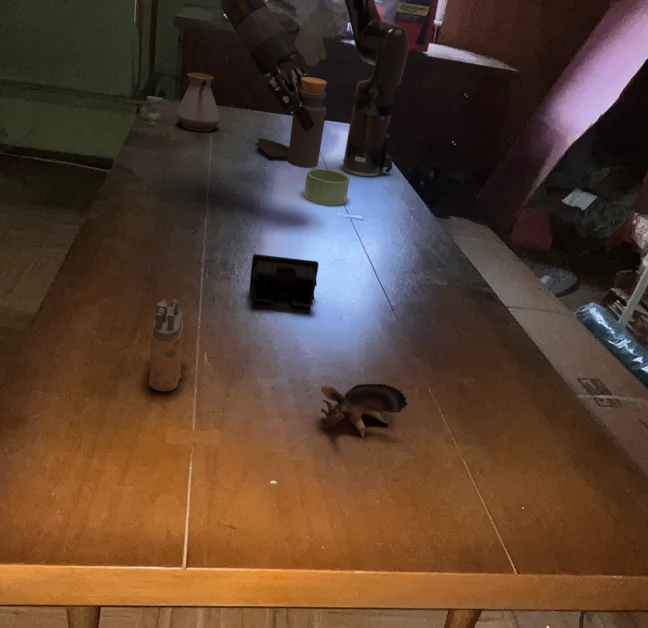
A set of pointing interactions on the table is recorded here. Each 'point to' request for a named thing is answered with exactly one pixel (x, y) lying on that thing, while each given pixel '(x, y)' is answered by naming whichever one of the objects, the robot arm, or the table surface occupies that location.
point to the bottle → (309, 142)
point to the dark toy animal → (363, 403)
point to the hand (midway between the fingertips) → (316, 124)
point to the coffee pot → (198, 104)
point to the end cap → (283, 283)
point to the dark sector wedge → (273, 149)
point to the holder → (326, 187)
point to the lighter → (166, 347)
